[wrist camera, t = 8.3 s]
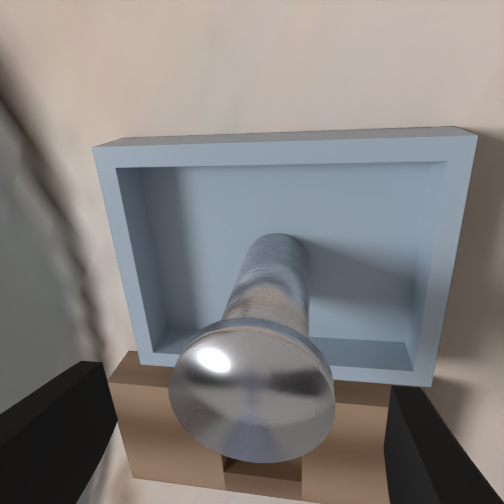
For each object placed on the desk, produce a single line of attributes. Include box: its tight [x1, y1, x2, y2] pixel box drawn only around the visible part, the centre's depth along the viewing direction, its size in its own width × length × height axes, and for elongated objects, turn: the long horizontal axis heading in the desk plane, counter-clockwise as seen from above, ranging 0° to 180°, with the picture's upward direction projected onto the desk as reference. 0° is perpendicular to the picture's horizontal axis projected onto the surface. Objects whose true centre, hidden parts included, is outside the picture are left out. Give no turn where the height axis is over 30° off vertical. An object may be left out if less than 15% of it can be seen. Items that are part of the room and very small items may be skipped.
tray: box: [92, 126, 478, 387], centre depth 17 cm, size 11×14×2 cm
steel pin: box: [168, 233, 335, 463], centre depth 14 cm, size 4×4×8 cm
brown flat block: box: [107, 351, 426, 504], centre depth 21 cm, size 8×16×2 cm, turn 93°
